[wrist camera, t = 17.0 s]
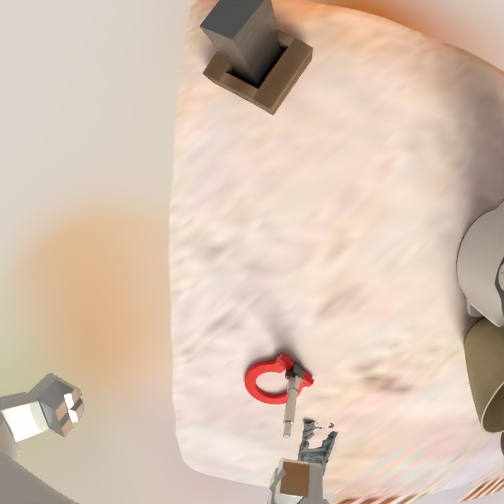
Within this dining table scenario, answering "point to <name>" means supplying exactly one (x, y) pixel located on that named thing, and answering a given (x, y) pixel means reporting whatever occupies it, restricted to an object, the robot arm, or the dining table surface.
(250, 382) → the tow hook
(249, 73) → the gray rectangular bar
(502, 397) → the plant pot
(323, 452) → the driftwood
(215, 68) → the brown square socket block
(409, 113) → the dining table surface
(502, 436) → the gourd
